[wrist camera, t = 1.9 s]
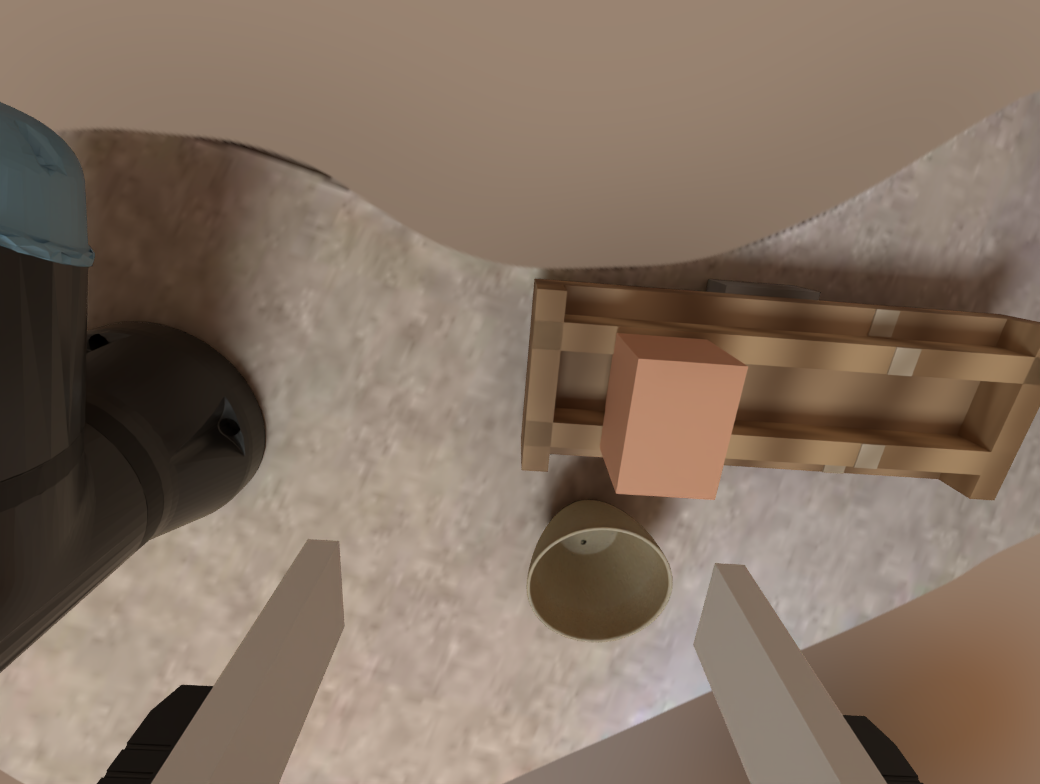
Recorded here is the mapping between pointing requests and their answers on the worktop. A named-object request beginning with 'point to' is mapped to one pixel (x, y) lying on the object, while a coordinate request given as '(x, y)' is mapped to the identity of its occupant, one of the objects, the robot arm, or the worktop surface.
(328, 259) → the worktop surface
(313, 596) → the robot arm
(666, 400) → the block
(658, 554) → the flower pot
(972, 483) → the wooden crate
